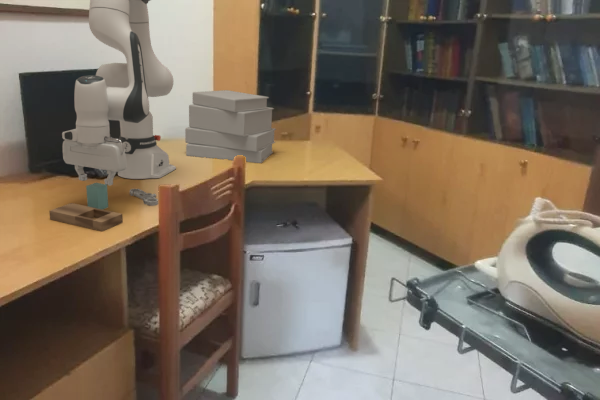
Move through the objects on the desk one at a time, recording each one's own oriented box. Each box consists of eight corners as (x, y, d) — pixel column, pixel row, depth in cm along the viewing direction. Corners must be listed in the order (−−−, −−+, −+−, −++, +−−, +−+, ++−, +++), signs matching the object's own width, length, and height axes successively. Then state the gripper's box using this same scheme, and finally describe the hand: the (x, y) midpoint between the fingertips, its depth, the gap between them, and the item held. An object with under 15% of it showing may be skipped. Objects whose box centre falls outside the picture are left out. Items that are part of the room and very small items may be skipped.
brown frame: (72, 211, 155) (71, 202, 155) (122, 222, 149) (122, 213, 148) (50, 219, 148) (49, 210, 148) (102, 231, 142) (101, 222, 141)
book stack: (261, 166, 218) (263, 101, 210) (179, 157, 224) (178, 95, 216) (278, 151, 246) (280, 94, 239) (204, 144, 252) (205, 88, 244)
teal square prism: (97, 205, 162) (96, 182, 160) (108, 207, 160) (106, 184, 158) (87, 208, 158) (86, 185, 156) (98, 211, 157) (97, 187, 155)
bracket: (135, 202, 162) (128, 187, 174) (135, 208, 162) (128, 193, 175) (160, 200, 165) (152, 186, 177) (161, 206, 165) (152, 192, 178)
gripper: (130, 137, 152) (132, 185, 156) (74, 129, 159) (76, 175, 163) (115, 140, 146) (117, 190, 150) (57, 132, 153) (60, 179, 157)
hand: (95, 182), depth 156 cm, fingers open, 8 cm apart
